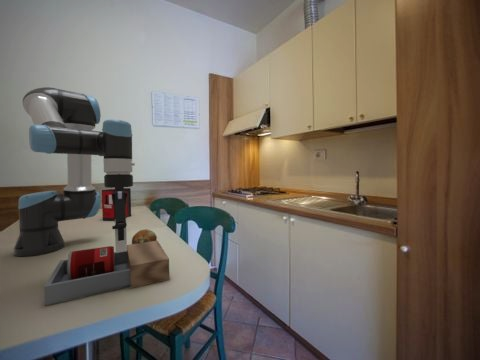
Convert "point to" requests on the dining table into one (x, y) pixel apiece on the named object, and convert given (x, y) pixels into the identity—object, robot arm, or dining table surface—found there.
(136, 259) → the walnut step
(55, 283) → the grey tray
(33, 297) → the dining table surface
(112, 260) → the canned food
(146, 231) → the bread roll
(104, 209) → the cleaning product box
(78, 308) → the dining table surface
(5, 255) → the dining table surface
